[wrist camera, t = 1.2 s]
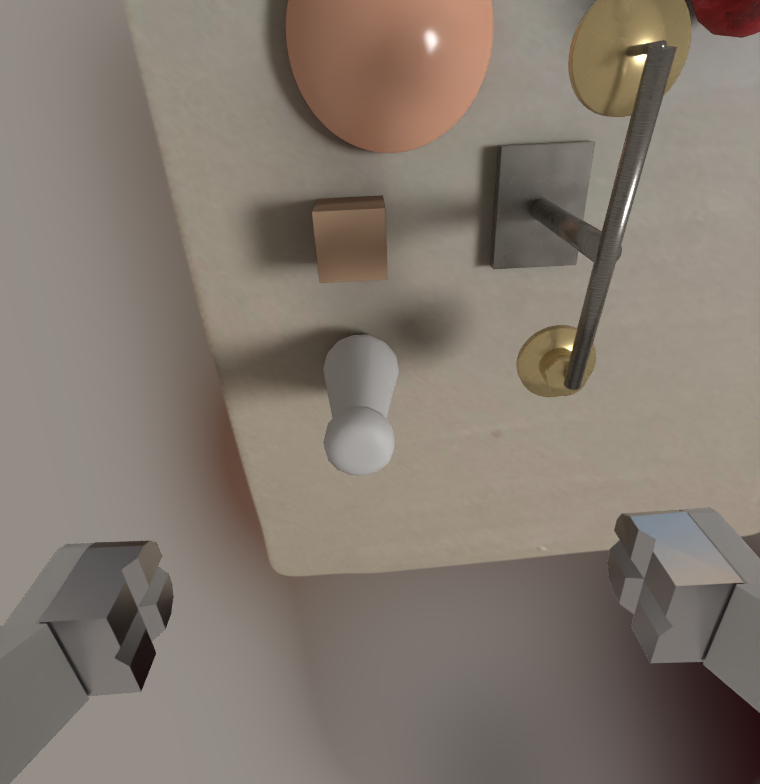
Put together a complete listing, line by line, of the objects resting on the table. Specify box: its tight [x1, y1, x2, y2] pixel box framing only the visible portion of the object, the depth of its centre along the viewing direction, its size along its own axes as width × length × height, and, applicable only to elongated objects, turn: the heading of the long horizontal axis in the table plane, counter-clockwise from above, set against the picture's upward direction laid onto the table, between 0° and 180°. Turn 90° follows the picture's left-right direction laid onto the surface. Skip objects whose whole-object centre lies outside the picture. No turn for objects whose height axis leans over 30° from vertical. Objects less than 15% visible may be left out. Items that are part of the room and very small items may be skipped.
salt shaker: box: [323, 333, 399, 475], centre depth 35 cm, size 6×6×13 cm
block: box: [312, 196, 388, 283], centre depth 34 cm, size 4×4×4 cm
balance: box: [490, 0, 691, 397], centre depth 29 cm, size 22×6×14 cm, turn 3°
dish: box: [286, 0, 493, 153], centre depth 30 cm, size 12×12×1 cm
